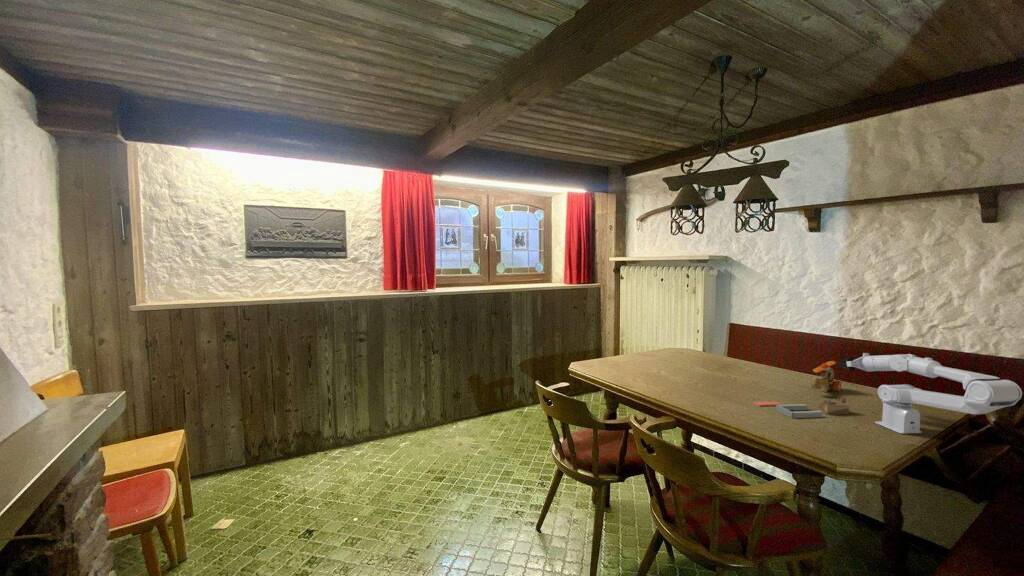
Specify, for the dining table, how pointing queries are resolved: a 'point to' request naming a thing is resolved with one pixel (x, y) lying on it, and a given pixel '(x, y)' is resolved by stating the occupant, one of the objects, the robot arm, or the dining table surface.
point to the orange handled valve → (825, 378)
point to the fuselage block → (834, 407)
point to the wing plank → (767, 403)
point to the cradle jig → (802, 414)
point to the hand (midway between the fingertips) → (847, 364)
